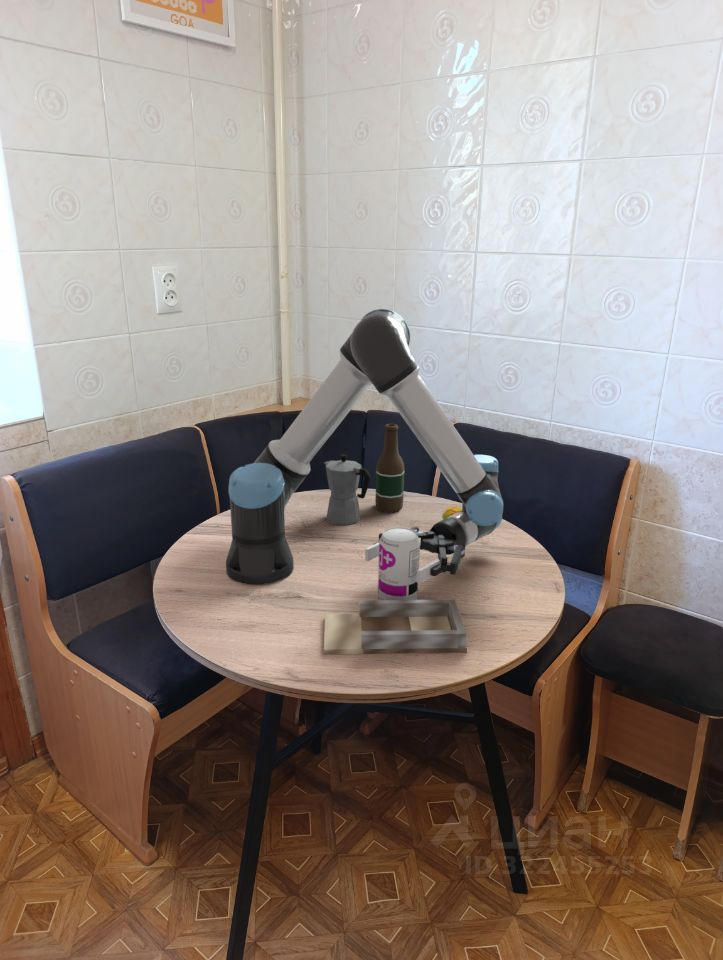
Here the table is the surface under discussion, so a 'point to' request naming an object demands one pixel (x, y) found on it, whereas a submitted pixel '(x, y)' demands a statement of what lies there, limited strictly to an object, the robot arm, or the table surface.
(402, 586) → the supplement can
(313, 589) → the table surface
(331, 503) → the coffeepot
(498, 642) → the table surface
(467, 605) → the table surface
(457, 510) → the pineapple toy
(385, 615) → the rectangular tray
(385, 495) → the beer bottle
